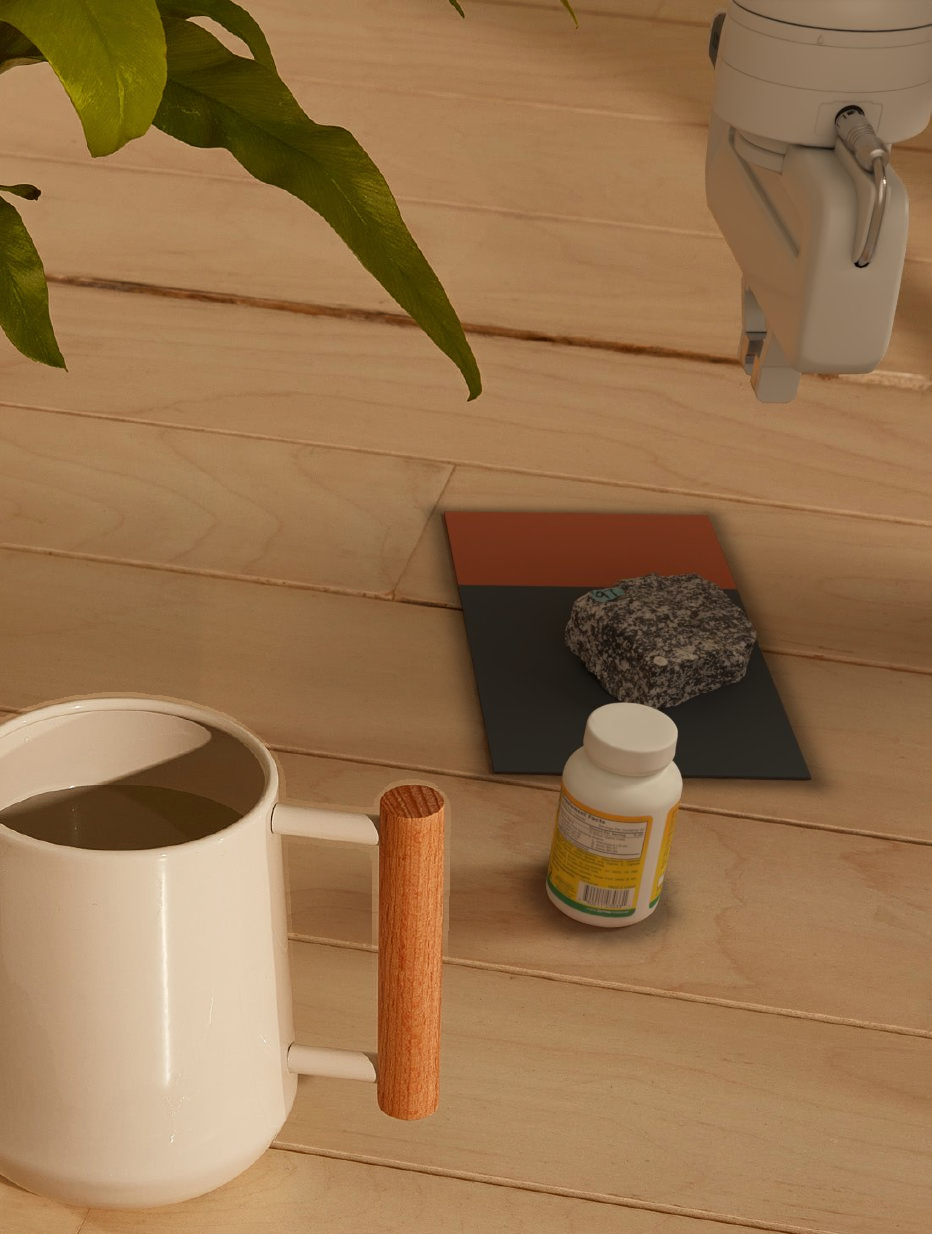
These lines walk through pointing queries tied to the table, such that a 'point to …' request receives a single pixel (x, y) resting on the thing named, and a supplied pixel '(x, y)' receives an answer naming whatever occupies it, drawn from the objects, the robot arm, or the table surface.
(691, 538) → the mat
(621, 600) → the rock
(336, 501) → the table surface
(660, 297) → the table surface
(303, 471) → the table surface
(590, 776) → the supplement bottle
